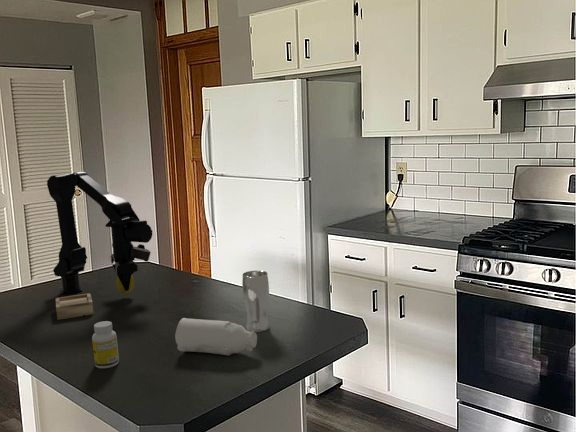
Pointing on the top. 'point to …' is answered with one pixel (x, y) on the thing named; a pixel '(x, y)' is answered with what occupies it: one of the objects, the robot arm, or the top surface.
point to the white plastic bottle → (213, 337)
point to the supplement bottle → (105, 345)
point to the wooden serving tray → (74, 306)
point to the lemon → (121, 288)
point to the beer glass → (256, 299)
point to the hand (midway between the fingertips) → (125, 288)
